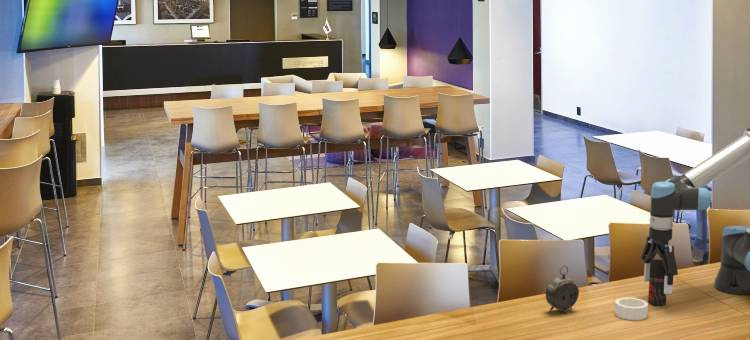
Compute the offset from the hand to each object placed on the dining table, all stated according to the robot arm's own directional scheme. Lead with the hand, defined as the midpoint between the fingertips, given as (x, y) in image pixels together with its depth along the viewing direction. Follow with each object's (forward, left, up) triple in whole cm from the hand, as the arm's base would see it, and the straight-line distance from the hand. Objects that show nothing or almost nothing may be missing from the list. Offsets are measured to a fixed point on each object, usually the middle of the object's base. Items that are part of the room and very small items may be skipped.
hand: (657, 287), depth 303 cm
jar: (+14, +8, -6) cm, 17 cm away
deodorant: (0, 0, -6) cm, 6 cm away
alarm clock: (+35, 0, -6) cm, 35 cm away
